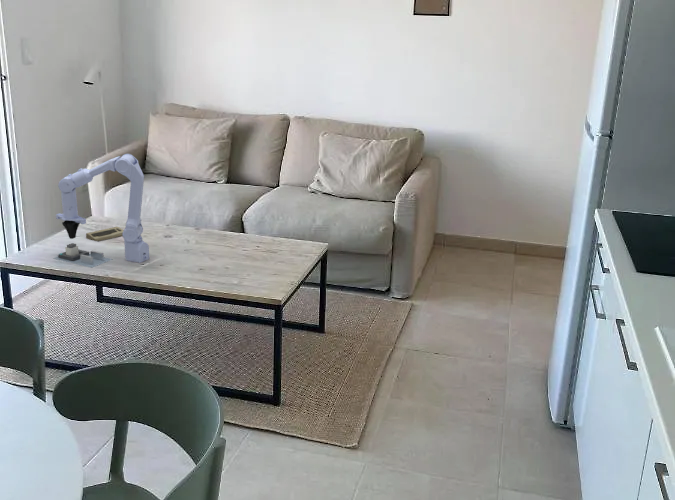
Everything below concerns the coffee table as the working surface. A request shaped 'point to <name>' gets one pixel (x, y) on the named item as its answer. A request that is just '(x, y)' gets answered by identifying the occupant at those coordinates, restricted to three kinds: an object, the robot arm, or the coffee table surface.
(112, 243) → the coffee table surface
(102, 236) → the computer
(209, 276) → the coffee table surface
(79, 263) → the panel board
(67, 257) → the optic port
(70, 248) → the plug
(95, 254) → the plate with twin rails
